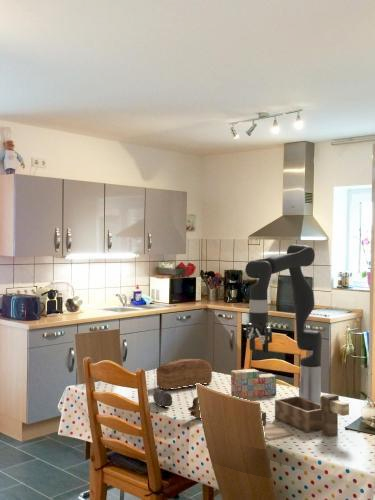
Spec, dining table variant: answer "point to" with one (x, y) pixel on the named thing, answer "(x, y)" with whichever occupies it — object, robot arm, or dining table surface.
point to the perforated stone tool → (162, 398)
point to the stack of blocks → (252, 383)
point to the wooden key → (338, 407)
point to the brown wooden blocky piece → (308, 414)
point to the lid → (274, 430)
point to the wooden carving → (195, 408)
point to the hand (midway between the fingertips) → (258, 351)
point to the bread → (183, 373)
